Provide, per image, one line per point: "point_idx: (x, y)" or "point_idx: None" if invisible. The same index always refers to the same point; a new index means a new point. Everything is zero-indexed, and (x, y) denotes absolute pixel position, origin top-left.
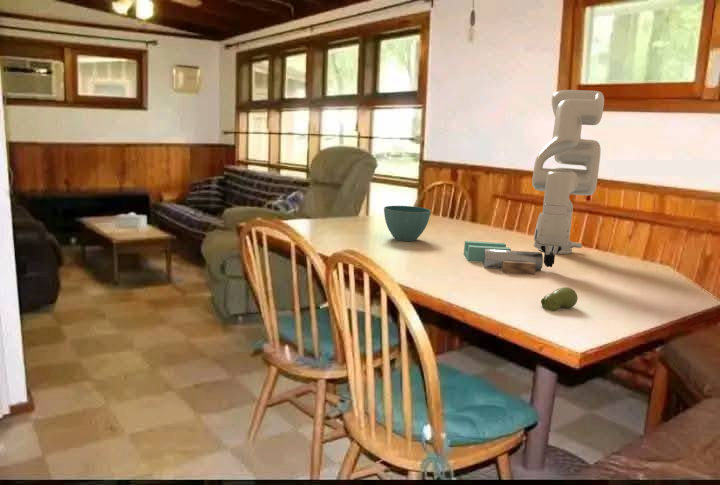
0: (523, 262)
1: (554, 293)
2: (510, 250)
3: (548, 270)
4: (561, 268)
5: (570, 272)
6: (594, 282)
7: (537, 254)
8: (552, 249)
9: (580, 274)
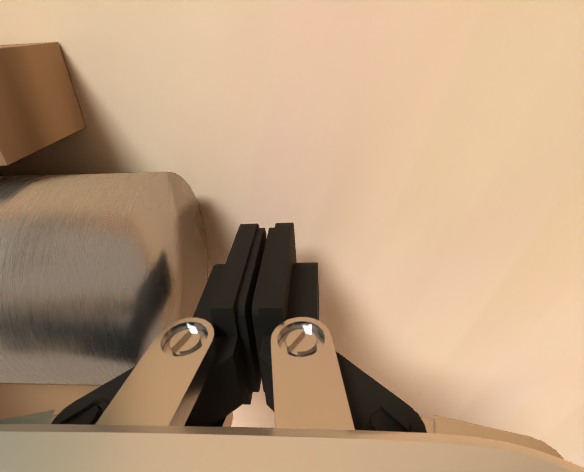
0: (25, 405)
1: None
2: None
3: (291, 205)
4: (479, 66)
5: (490, 227)
6: (515, 431)
7: (97, 383)
8: (289, 389)
9: (551, 274)
